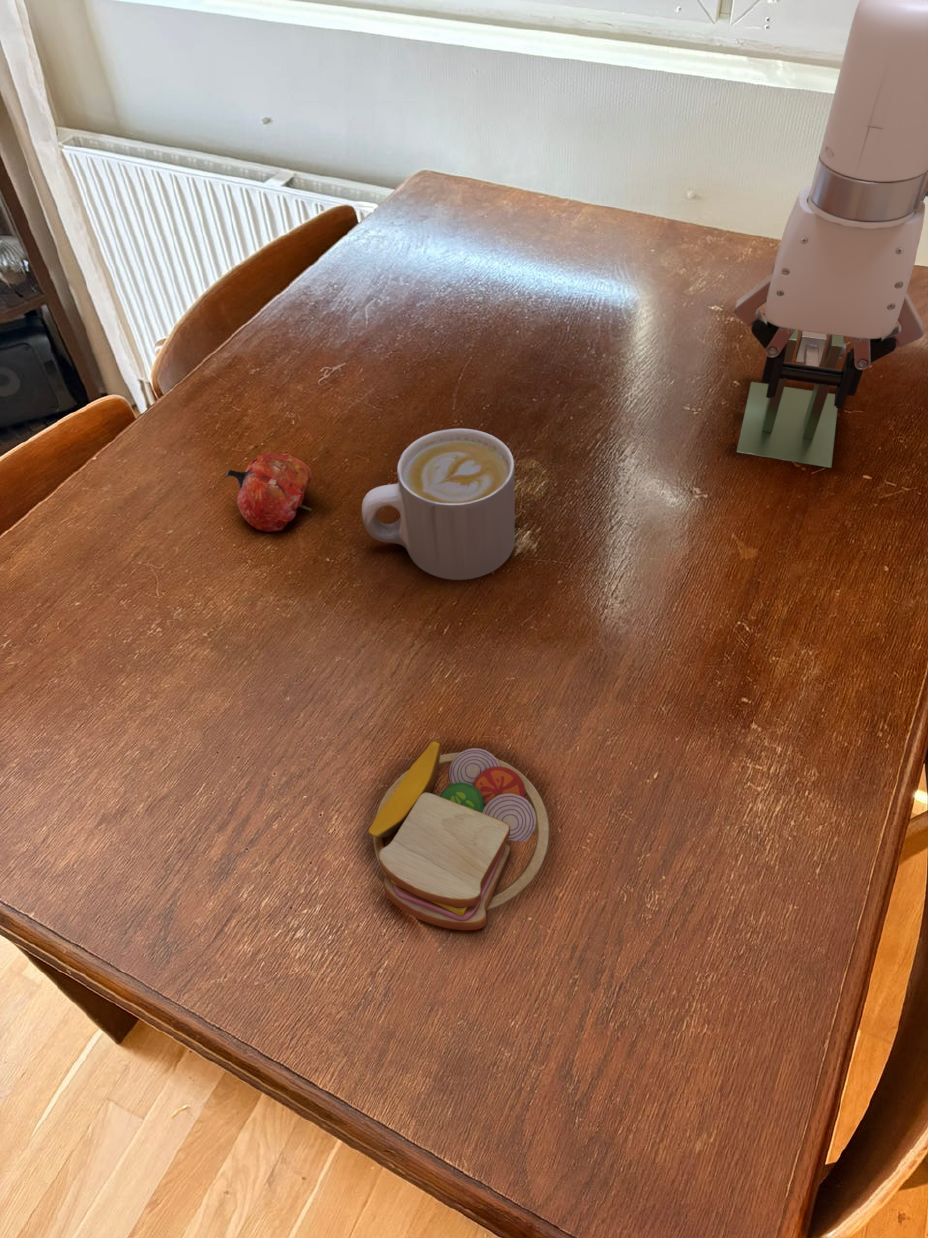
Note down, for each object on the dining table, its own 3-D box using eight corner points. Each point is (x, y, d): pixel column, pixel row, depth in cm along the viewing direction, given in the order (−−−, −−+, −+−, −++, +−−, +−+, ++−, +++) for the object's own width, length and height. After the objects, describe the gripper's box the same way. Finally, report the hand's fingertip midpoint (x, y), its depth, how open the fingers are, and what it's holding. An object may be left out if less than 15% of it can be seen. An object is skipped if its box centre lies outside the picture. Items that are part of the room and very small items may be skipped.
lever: (837, 395, 77) (845, 367, 75) (777, 386, 78) (784, 358, 76) (835, 358, 86) (842, 333, 84) (781, 351, 87) (787, 326, 85)
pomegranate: (319, 506, 91) (229, 456, 87) (352, 471, 86) (257, 416, 82) (298, 563, 87) (203, 514, 83) (330, 531, 82) (230, 476, 78)
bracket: (828, 476, 87) (864, 373, 78) (734, 461, 89) (758, 358, 80) (836, 403, 94) (869, 301, 85) (748, 390, 97) (773, 289, 88)
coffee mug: (516, 512, 86) (516, 428, 78) (512, 589, 80) (512, 506, 72) (378, 509, 87) (365, 427, 79) (364, 585, 81) (348, 503, 73)
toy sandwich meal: (579, 809, 66) (583, 777, 62) (481, 969, 58) (479, 942, 55) (438, 734, 70) (434, 699, 67) (331, 873, 63) (320, 843, 60)
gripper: (991, 173, 65) (908, 383, 79) (752, 152, 69) (712, 356, 83) (996, 222, 61) (907, 436, 75) (739, 196, 65) (700, 404, 79)
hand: (805, 392), depth 79 cm, fingers closed on lever, 5 cm apart
